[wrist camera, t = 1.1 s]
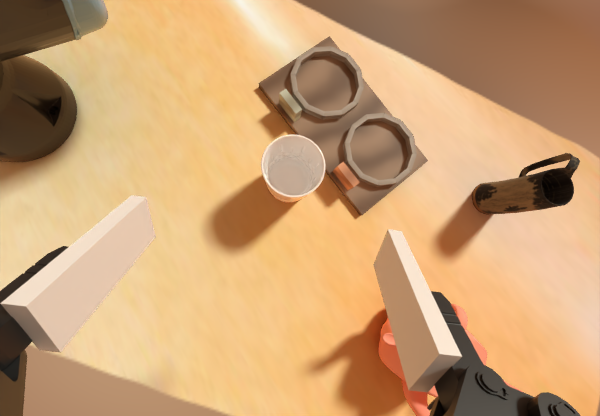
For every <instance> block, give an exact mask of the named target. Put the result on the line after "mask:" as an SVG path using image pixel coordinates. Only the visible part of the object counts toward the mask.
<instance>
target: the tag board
mask: <svg viewBox="0 0 600 416" xmlns="http://www.w3.org/2000/svg"><path fill="white" fill-rule="evenodd" d="M259 87H260V89H261V90H262V91H263V93H264V94H265V95H266V96H267V98H268V99H269V100H270V101H271V103H272V104H273V105H274V107H275V108H276V109H277V110H278V112H279V113H280V114H281V115H282V117H283V118H284V119H285V120H286V122H287V123H288V124H289V126H290V127H291V128H292V129H293V131H294V132H295V133H296V134H297V135H300V136H304V137H306V138H308V139H310V140H311V141H313V142H314V143H315V144H316V145H317V146H318V147H319V149H320V150H321V152H322V154H323V156H324V159H325V171H326V173H327V174H328V175H329V176H330V178H331V179H332V180H333V181H334V183H335V184H336V185H337V187H338V188H339V189H340V190H341V192H342V193H343V194H344V195H345V197H346V198H347V199H348V200H349V202H350V203H351V204H352V206H353V207H354V208H355V209H356V211H357V212H358V213H359V214H360V215H363V214H364V213H365V212H366V211H368V210H369V209H370V208H371V207H373V206H374V205H375V204H376V203H377V202H379V201H380V200H381V199H382V198H383V197H385V196H386V195H387V194H388V193H389V192H391V191H392V190H393V189H394V188H395V187H397V186H398V185H399V184H400V183H402V182H403V181H404V180H405V179H406V178H408V177H409V176H410V175H411V174H412V173H414V172H415V171H416V170H417V169H418V168H420V167H421V166H422V165H423V164H424V163H426V162H427V161H428V160H427V159H426V157H425V156H424V155H423V154H422V152H421V151H420V150H419V149H418V147H417V146H416V145H415V141H414V136H413V134H412V133H411V132H410V130H409V129H408V128H407V127H406V125H405V124H404V123H403V122H402V121H401V120H399V119H397V118H395V117H393V116H392V115H391V113H390V112H389V111H388V110H387V108H386V107H385V106H384V105H383V103H382V102H381V101H380V99H379V98H378V97H377V96H376V94H375V93H374V92H373V91H372V89H371V88H370V87H369V86H368V84H367V83H366V82H365V81H364V79H363V78H362V73H361V70H360V67H359V66H358V65H357V64H356V62H355V61H354V60H353V59H352V57H351V56H350V55H348V54H347V53H345V52H343V51H341V50H340V49H339V48H338V46H337V45H336V44H335V43H334V41H333V40H332V39H331V38H330V36H329V37H328V38H326V39H325V40H323V41H322V42H320V43H319V44H317V45H316V46H314V47H313V48H311V49H309V50H308V51H306V52H305V53H303V54H302V55H300V56H299V57H298V58H296V59H295V60H293V61H292V62H290V63H289V64H287V65H286V66H284V67H283V68H281V69H280V70H278V71H277V72H275V73H274V74H272V75H271V76H269V77H268V78H266V79H265V80H263V81H262V82H260V83H259Z"/></svg>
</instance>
